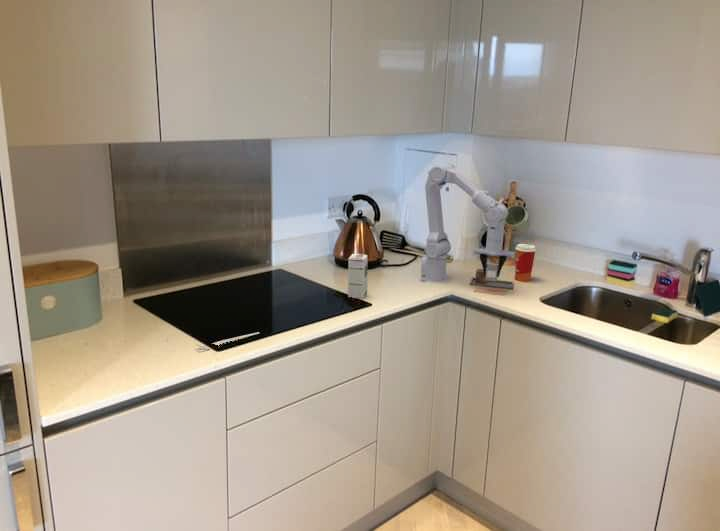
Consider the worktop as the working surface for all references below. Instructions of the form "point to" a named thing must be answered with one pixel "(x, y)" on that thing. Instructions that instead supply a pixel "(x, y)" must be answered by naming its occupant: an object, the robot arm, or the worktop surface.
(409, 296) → the worktop surface
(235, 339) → the fork
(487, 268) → the labelled block
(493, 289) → the rubber mat
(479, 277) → the walnut block
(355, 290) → the syrup box
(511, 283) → the parts tray
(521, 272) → the paper cup
